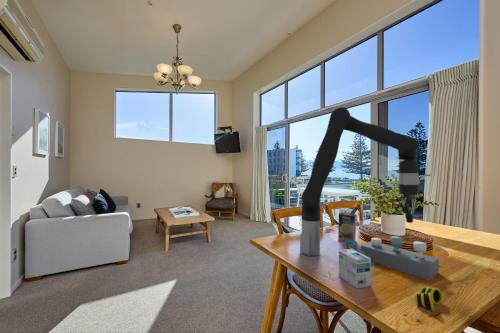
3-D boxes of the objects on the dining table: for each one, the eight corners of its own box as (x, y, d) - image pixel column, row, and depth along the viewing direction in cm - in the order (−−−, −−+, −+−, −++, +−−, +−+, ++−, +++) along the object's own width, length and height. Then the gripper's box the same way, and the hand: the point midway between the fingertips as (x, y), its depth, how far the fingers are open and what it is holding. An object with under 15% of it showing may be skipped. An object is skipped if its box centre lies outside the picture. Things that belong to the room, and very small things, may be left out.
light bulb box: (371, 286, 87) (371, 257, 87) (356, 289, 85) (357, 260, 85) (351, 273, 98) (351, 248, 97) (337, 275, 96) (338, 249, 95)
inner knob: (378, 257, 111) (378, 241, 111) (369, 254, 114) (369, 238, 114) (383, 254, 113) (383, 239, 113) (374, 252, 117) (374, 237, 117)
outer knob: (423, 263, 96) (424, 245, 96) (411, 260, 100) (411, 242, 100) (427, 261, 99) (428, 243, 99) (415, 257, 102) (415, 240, 102)
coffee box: (337, 240, 139) (337, 214, 139) (339, 237, 145) (340, 212, 144) (354, 243, 134) (354, 215, 134) (356, 240, 140) (356, 213, 140)
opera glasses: (425, 298, 81) (422, 283, 82) (444, 302, 77) (440, 286, 78) (415, 308, 75) (411, 292, 76) (434, 313, 71) (431, 296, 72)
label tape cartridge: (365, 272, 99) (365, 243, 99) (357, 273, 98) (357, 243, 98) (352, 263, 107) (353, 236, 107) (345, 264, 107) (345, 237, 107)
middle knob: (399, 256, 103) (399, 239, 103) (389, 253, 107) (389, 237, 107) (403, 254, 106) (404, 238, 106) (393, 251, 110) (393, 235, 109)
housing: (429, 280, 92) (429, 265, 92) (360, 257, 115) (360, 245, 115) (438, 272, 98) (438, 258, 98) (371, 252, 121) (371, 240, 121)
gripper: (405, 181, 110) (405, 218, 110) (392, 183, 102) (393, 223, 102) (424, 182, 104) (425, 221, 104) (412, 184, 96) (413, 226, 96)
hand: (409, 222), depth 103 cm, fingers closed
